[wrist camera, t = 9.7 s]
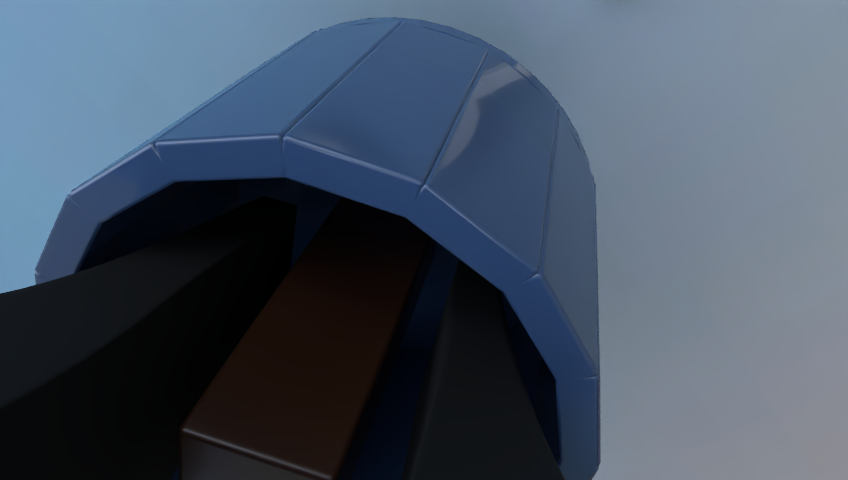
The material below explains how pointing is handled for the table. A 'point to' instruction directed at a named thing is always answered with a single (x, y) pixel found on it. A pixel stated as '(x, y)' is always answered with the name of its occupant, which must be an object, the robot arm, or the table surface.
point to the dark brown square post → (313, 357)
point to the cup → (390, 200)
